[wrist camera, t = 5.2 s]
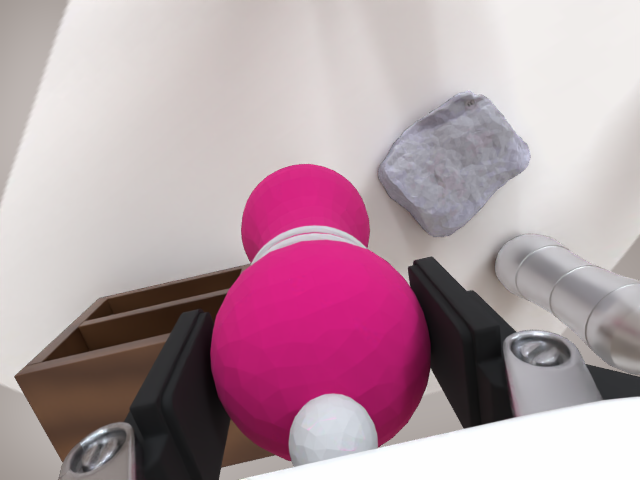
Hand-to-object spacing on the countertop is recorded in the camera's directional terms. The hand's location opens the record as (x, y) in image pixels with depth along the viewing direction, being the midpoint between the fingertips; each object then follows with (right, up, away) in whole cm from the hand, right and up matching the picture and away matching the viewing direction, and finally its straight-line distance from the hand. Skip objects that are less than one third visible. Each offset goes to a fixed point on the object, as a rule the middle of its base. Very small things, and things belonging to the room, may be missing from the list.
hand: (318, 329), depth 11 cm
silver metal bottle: (+21, +1, +29) cm, 36 cm away
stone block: (+12, +11, +25) cm, 29 cm away
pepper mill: (-1, +5, +14) cm, 15 cm away
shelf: (-13, -7, +28) cm, 32 cm away
